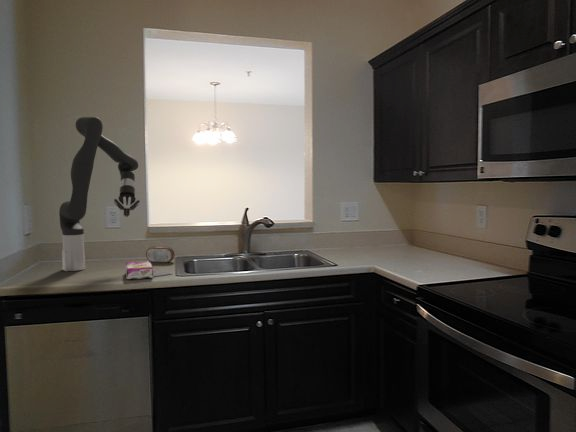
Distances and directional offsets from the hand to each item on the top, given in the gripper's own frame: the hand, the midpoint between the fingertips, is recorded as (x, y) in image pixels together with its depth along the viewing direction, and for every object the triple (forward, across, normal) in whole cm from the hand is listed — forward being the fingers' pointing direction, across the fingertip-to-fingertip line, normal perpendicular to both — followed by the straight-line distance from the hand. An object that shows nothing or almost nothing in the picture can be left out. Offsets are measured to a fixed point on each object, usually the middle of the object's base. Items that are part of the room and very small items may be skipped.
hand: (126, 215), depth 211 cm
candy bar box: (+29, +6, -1) cm, 30 cm away
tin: (+17, +18, +18) cm, 31 cm away
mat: (+37, +11, -6) cm, 39 cm away
